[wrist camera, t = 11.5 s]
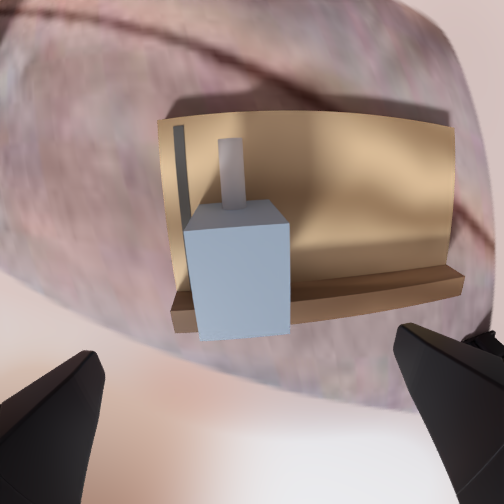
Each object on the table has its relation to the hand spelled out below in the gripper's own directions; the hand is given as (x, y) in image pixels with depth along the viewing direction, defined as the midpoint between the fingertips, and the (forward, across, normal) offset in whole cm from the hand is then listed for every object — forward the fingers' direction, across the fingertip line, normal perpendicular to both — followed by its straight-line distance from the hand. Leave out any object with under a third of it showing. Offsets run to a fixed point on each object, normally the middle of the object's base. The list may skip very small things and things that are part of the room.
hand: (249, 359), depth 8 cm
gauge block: (+10, 0, -2) cm, 11 cm away
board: (+12, -6, -2) cm, 13 cm away
